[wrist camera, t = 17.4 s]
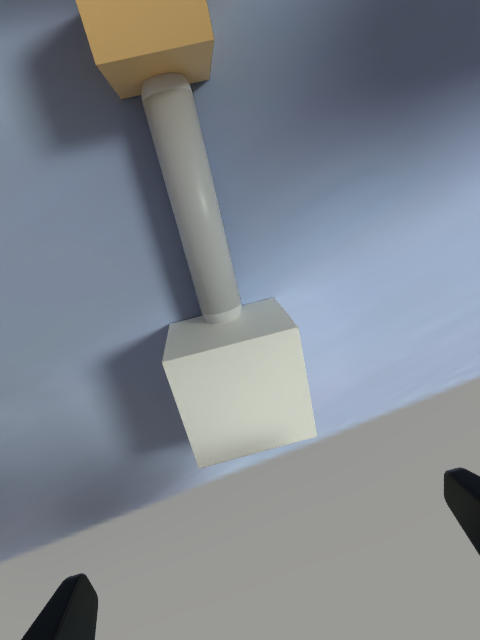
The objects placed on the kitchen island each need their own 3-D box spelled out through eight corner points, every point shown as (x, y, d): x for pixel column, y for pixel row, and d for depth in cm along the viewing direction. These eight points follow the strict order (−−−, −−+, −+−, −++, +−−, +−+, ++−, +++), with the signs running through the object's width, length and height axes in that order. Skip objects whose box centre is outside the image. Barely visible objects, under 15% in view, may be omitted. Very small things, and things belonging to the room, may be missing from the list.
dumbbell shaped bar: (212, -21, 10) (220, -123, 7) (294, 404, 16) (320, 457, 13) (68, 10, 10) (7, -81, 7) (203, 428, 16) (205, 488, 13)
